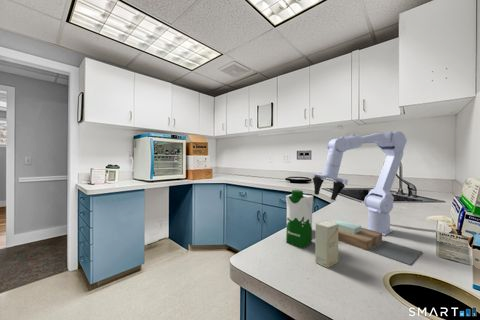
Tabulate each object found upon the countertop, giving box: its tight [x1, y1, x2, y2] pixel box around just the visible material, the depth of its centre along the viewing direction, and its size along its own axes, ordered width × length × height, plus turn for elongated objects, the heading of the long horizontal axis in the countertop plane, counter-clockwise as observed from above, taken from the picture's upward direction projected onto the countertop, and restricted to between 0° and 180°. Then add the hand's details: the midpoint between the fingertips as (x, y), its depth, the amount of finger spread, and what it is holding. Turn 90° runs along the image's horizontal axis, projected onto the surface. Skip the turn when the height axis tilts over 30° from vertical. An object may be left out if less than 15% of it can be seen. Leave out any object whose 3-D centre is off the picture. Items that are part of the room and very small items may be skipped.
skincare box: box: [314, 220, 339, 268], centre depth 63 cm, size 6×4×12 cm
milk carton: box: [285, 189, 314, 249], centre depth 77 cm, size 9×9×20 cm
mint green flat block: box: [333, 219, 362, 234], centre depth 84 cm, size 6×9×2 cm, turn 37°
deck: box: [338, 227, 383, 251], centre depth 82 cm, size 14×16×3 cm
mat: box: [369, 240, 423, 266], centre depth 70 cm, size 14×11×1 cm
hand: (324, 197), depth 85 cm, fingers open, 7 cm apart
